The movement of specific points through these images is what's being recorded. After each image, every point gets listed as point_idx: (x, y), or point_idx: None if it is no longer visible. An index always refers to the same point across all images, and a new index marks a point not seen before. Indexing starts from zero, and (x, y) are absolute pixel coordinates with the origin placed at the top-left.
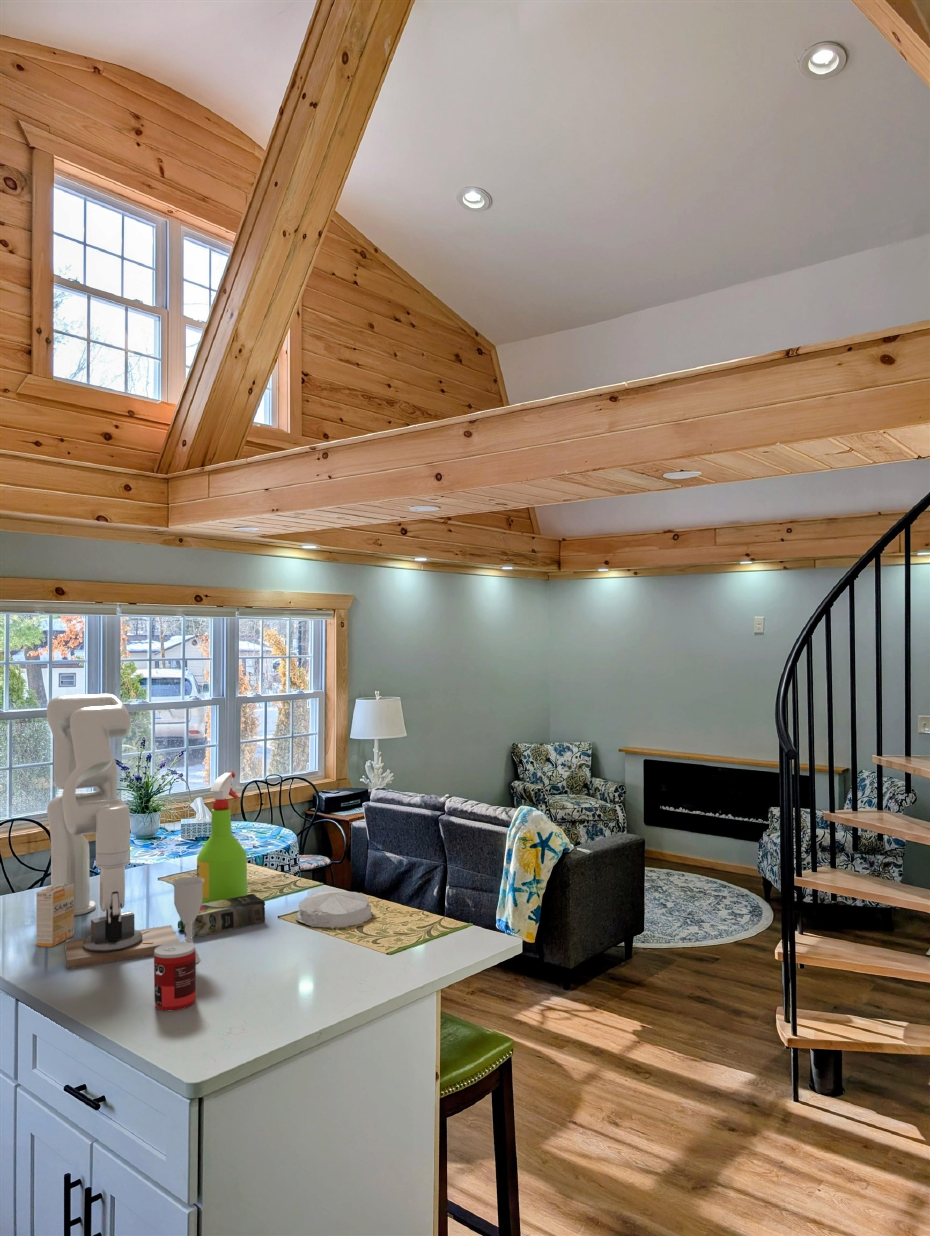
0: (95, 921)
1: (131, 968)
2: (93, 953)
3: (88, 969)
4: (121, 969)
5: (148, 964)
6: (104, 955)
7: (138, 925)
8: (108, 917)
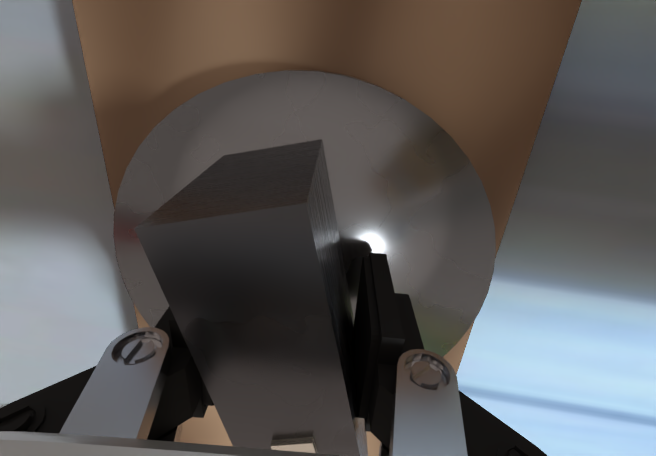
0: (177, 239)
1: (20, 263)
2: (147, 123)
3: (61, 69)
4: (17, 225)
5: (56, 326)
6: (115, 182)
7: (639, 387)
8: (85, 387)
